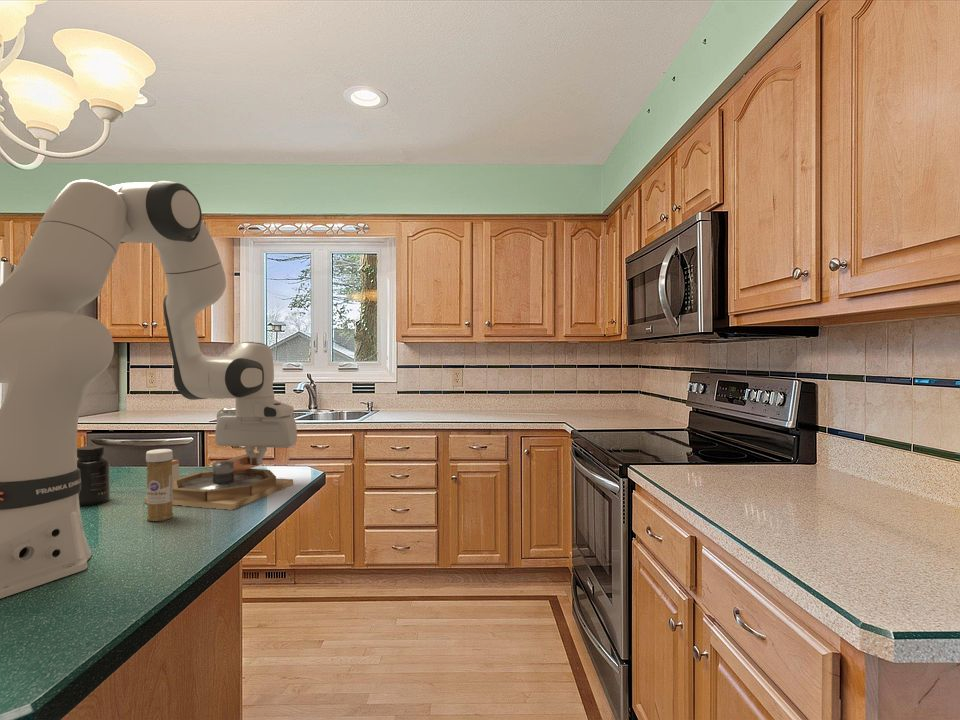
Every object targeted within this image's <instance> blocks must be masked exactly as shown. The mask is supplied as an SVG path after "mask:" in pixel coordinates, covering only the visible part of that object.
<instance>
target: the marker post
mask: <svg viewBox="0 0 960 720" xmlns="http://www.w3.org/2000/svg"><path fill="white" fill-rule="evenodd" d="M179 461H180V460H179V459H172V480H173V479H177V478H180V465H179V463H180V462H179Z"/></svg>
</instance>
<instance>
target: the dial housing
mask: <svg viewBox="0 0 960 720" xmlns="http://www.w3.org/2000/svg"><path fill="white" fill-rule="evenodd" d="M240 473H251V474H257V475H260V476H262V477H263V480H260V481H257V482H255V483H252V484H249V485H245V486H237V487H229V488H221V489H213V490H200V489H186V488H181V485H182V484H183V483H185V482H187V481H189V480H192V479H196V478H200V477H204V476H210V475H213V470H206V471H199V472H194V473H191V474H187V475H184V476H179V478H177V479H173V480H172V488H173V500H172V506H174V505H182V506H181V507H186V506H191V507H190V508H199V507H202V508H203V509H212V508H216V509H215V510H224V509H227V510H228V511H234V510H236V509H238V508H240V507H243V506H245V505H247V504H250V503H252V502H255V501H257V500H260V499H262V498H265V497H266V496H268V495H272V494H273V493H275V492H278V491H280V490H283V489H285V488H288V487H291V486H292V485H294V479H292V478H277V476H276V475H275V474H274V473H273V471H272V470H270V469H265V468H262V469H261V468H250V469H248V470H245V471H242V472H240ZM143 501H144V504H147V496H146V497H143ZM202 508H201V509H202ZM233 509H234V510H233Z"/></svg>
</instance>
